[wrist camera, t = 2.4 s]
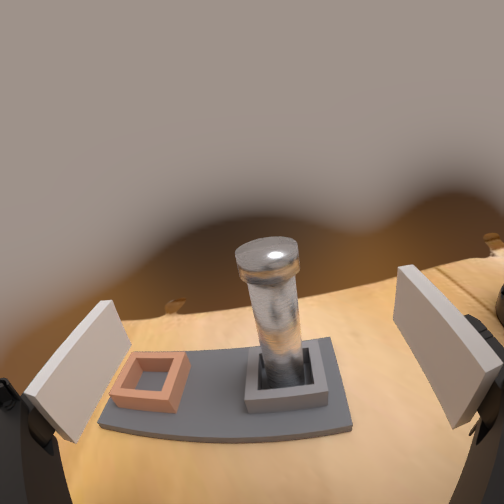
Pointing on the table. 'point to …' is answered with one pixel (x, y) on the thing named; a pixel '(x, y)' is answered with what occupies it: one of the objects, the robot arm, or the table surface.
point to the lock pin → (275, 306)
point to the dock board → (226, 397)
